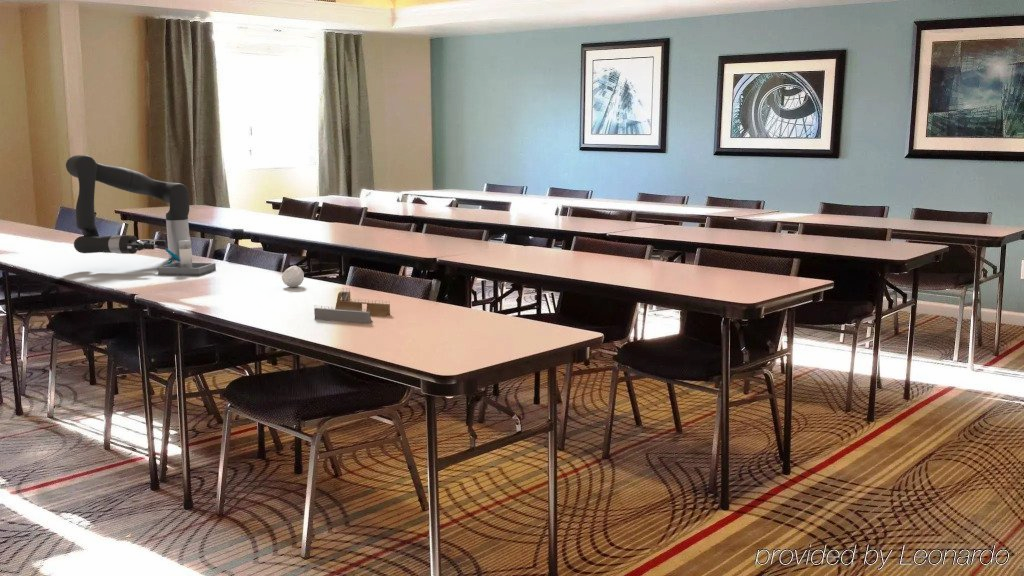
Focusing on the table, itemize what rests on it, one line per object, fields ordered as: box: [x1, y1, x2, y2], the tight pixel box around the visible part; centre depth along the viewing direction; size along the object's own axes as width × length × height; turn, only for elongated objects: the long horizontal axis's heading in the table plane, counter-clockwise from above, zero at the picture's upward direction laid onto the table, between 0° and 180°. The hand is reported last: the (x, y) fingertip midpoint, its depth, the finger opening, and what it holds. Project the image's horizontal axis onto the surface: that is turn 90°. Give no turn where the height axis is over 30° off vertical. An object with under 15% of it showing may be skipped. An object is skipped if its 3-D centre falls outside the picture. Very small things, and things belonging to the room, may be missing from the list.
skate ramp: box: [313, 288, 391, 325], centre depth 297 cm, size 29×35×8 cm
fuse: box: [178, 239, 194, 268], centre depth 377 cm, size 5×5×12 cm
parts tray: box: [157, 261, 217, 277], centre depth 378 cm, size 14×18×3 cm
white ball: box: [281, 265, 305, 288], centre depth 344 cm, size 8×8×8 cm
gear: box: [164, 247, 180, 265], centre depth 396 cm, size 11×6×10 cm
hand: (159, 244), depth 378 cm, fingers open, 8 cm apart
